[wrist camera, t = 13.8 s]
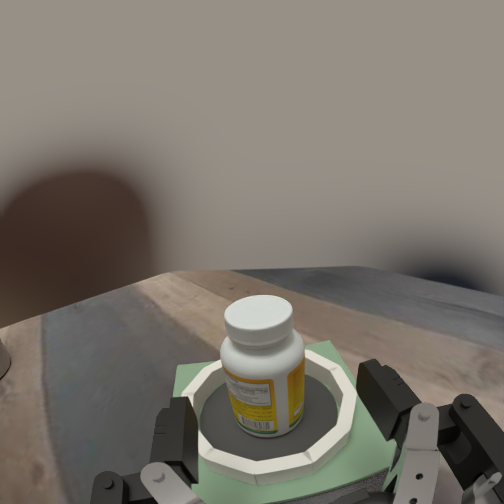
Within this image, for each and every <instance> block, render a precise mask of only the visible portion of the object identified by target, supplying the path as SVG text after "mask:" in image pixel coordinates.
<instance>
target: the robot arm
mask: <svg viewBox="0 0 504 504" xmlns="http://www.w3.org/2000/svg"><path fill="white" fill-rule="evenodd" d="M10 362H11V361H10V357H9V355H8V353H7V351H6V349H5V347H4V345H3V343H2V341H1V339H0V378H1V377H2V376H3V375H4V374H5V372H6V371H7V369H8V368H9V366H10ZM356 391H357V394H358V396H359V398H360V399H361V401H362V403H363V404H364V406H365V407H366V409H367V411H368V412H369V414H370V416H371V417H372V419H373V420H374V422H375V424H376V425H377V427H378V429H379V430H380V432H381V433H382V435H383V437H384V438H385V440H386V442H387V441H390V440H392V439H395V440H396V445H395V448H394V453H393V457H392V460H391V464H390V468H389V471H388V475H387V477H386V480H385V482H384V484H383V486H382V489H381V491H374V492H367V491H366V489H365V488H364V489H361V490H359V491H356V492H353V493H350V494H348V495H345V496H342V497H340V498H338V499H336V500H335V501H333V502H331V503H329V504H432V500H433V496H434V491H435V486H436V481H437V475H438V468H439V461H440V452H441V454H442V455H443V457H444V458H445V460H446V462H447V463H448V465H449V467H450V468H451V470H452V472H453V473H454V475H455V477H456V478H457V480H458V482H459V483H460V485H461V487H462V489H463V490H464V493H463V495H462V502H461V504H504V432H503V431H502V430H501V428H500V427H499V426H498V425H497V423H496V422H495V421H494V420H493V419H492V417H491V416H490V415H489V414H488V413H487V411H486V410H485V409H484V408H483V407H482V405H481V404H480V403H479V402H478V401H477V400H476V399H475V398H474V397H473V396H472V395H470V394H460V395H458V396H457V397H456V398H455V399H454V401H453V403H452V404H448V405H444V406H440V407H435V406H434V405H432V404H430V403H422V402H421V401H420V400H419V398H418V397H417V396H416V395H415V394H414V392H413V391H412V390H411V389H410V388H409V386H408V385H407V384H406V383H405V382H404V380H403V379H402V378H400V376H399V374H398V373H397V372H396V371H395V370H394V369H392V368H390V367H389V366H387V365H384V366H381V365H380V363H379V362H378V361H377V360H376V359H371V360H368V361H365V362H362V363H360V364H359V368H358V375H357V381H356ZM437 447H438V449H439V450H437ZM192 484H199V472H198V420H197V416H196V414H195V412H194V409H193V407H192V404H191V402H190V399H189V397H188V396H183V397H172V398H171V401H170V408H162V410H161V411H160V413H159V414H158V415H157V418H156V424H155V430H154V436H153V443H152V450H151V457H150V462H149V464H148V465H147V466H145V467H144V468H143V469H142V471H141V472H139V473H136V474H131V475H126V476H119V475H118V474H116V473H115V472H111V471H105V472H102V473H100V474H98V475H97V476H96V477H95V479H94V482H93V488H92V495H91V502H90V504H206V503H205V502H204V501H203V500H201V499H200V498H199V497H198V496H197V495H196V494H195V493H194V492H193V491H192Z"/></svg>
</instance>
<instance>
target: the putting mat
mask: <svg viewBox="0 0 504 504" xmlns="http://www.w3.org/2000/svg"><path fill="white" fill-rule="evenodd" d="M304 347H305V378H304V411H303V415H302V418H301V420H300V422H299V423H298V424H297V425H296V427H295V428H294V429H292V430H291V431H289V432H287V433H285V434H283V435H280V436H277V437H270V438H264V437H257V436H253V435H251V434H249V433H247V432H246V431H244V430H243V429H242V428H241V427H240V426H239V425H238V423H237V422H236V420H235V416H234V413H233V409H232V405H231V401H230V397H229V393H228V389H227V385H226V381H225V376H224V372H223V367H222V363H221V360H218V361H213V362H205V363H196V364H185V365H177V372H176V378H175V385H174V392H173V397H183V396H188V397H189V399H190V402H191V404H192V407H193V409H194V412H195V414H196V416H197V420H198V472H199V484H192V491H193V492H194V493H195V494H196V495H197V496H198V497H199V498H200V499H201V500H203V501H204V502H205V503H206V504H279V503H284V502H289V501H294V500H298V499H303V498H307V497H311V496H315V495H318V494H322V493H325V492H329V491H332V490H335V489H338V488H341V487H344V486H347V485H350V484H353V483H356V482H358V481H361V480H364V479H366V478H369V477H371V476H373V475H376V474H378V473H381V472H383V471H385V470H387V469H389V468H390V464H391V460H392V457H393V453H394V448H395V445H396V443H395V441H394V440H393V439H392V440H390V441H387V442H386V440H385V438H384V437H383V435H382V433H381V432H380V430H379V429H378V427H377V425H376V424H375V422H374V420H373V419H372V417H371V416H370V414H369V412H368V411H367V409H366V407H365V406H364V404H363V403H362V401H361V399H360V398H359V396H358V394H357V391H356V380H355V378H354V377H353V375H352V374H351V372H350V371H349V369H348V368H347V366H346V364H345V363H344V361H343V360H342V358H341V357H340V355H339V354H338V352H337V351H336V349H335V348H334V346H333V345H332V343H331V342H330V340H328V341H324V342H320V343H316V344H311V345H307V346H304Z"/></svg>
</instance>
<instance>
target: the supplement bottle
mask: <svg viewBox="0 0 504 504" xmlns="http://www.w3.org/2000/svg"><path fill="white" fill-rule="evenodd" d="M224 319H225V326H226V333H227V335H228V336H227V337H226V338H225V340H224V341H223V343H222V346H221V350H220V357H221V363H222V367H223V372H224V376H225V381H226V385H227V389H228V393H229V397H230V401H231V405H232V409H233V413H234V416H235V420H236V422H237V423H238V425H239V426H240V427H241V428H242V429H243V430H244V431H246V432H247V433H249V434H251V435H253V436H257V437H264V438H270V437H277V436H280V435H283V434H285V433H287V432H289V431H291V430H292V429H294V428H295V427H296V425H297V424H298V423H299V422H300V420H301V418H302V415H303V411H304V378H305V347H304V342H303V339H302V337H301V336H300V335H299V333H298V332H297V331H296V330H295V329H293V327H294V321H293V310H292V306H291V304H290V303H289V302H288V301H286V300H285V299H283V298H280V297H277V296H271V295H257V296H250V297H246V298H243V299H240V300H238V301H236V302H234V303H233V304H231V305H230V306H229V307H228V308H227V309H226V311H225V314H224Z"/></svg>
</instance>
